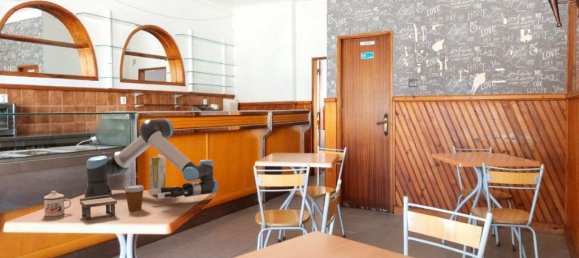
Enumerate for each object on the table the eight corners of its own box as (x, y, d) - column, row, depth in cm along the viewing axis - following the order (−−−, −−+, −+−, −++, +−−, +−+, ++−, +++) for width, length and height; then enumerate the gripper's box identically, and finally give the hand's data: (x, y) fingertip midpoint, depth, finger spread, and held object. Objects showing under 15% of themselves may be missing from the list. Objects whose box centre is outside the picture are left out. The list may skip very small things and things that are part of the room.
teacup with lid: (42, 217, 208) (42, 193, 207) (45, 213, 216) (44, 190, 216) (70, 214, 213) (70, 191, 212) (72, 211, 221) (71, 188, 220)
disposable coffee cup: (138, 212, 217) (137, 188, 216) (121, 211, 219) (120, 187, 218) (148, 207, 226) (147, 185, 225) (131, 207, 228) (131, 184, 227)
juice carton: (162, 195, 257) (161, 155, 256) (149, 195, 258) (148, 155, 256) (167, 192, 267) (166, 154, 266) (154, 192, 267) (153, 154, 266)
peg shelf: (80, 215, 210) (79, 198, 210) (110, 211, 219) (109, 194, 218) (85, 220, 201) (85, 202, 200) (117, 216, 209) (116, 198, 209)
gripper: (181, 180, 250) (145, 184, 238) (200, 185, 230) (161, 190, 218) (182, 192, 251) (145, 197, 238) (201, 199, 231) (162, 205, 218)
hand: (153, 194), depth 228 cm, fingers open, 13 cm apart
